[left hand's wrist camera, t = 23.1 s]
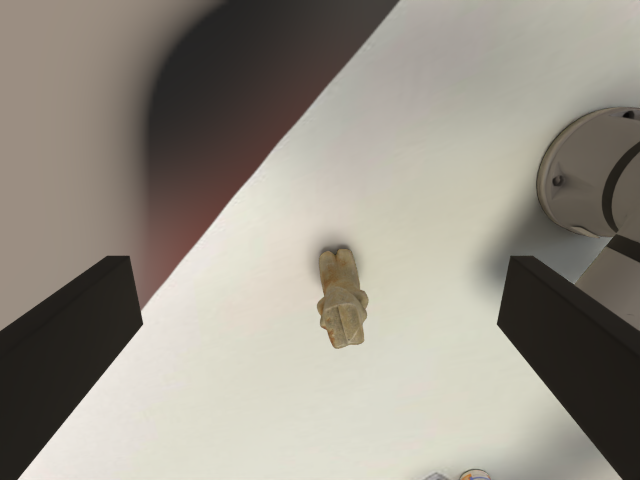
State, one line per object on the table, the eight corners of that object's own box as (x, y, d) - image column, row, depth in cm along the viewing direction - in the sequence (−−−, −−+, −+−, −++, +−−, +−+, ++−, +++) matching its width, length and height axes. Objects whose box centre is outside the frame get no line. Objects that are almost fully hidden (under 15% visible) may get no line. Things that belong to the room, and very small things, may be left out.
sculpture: (357, 243, 48) (372, 300, 34) (363, 290, 50) (379, 362, 36) (313, 249, 48) (310, 308, 34) (321, 296, 50) (322, 370, 36)
